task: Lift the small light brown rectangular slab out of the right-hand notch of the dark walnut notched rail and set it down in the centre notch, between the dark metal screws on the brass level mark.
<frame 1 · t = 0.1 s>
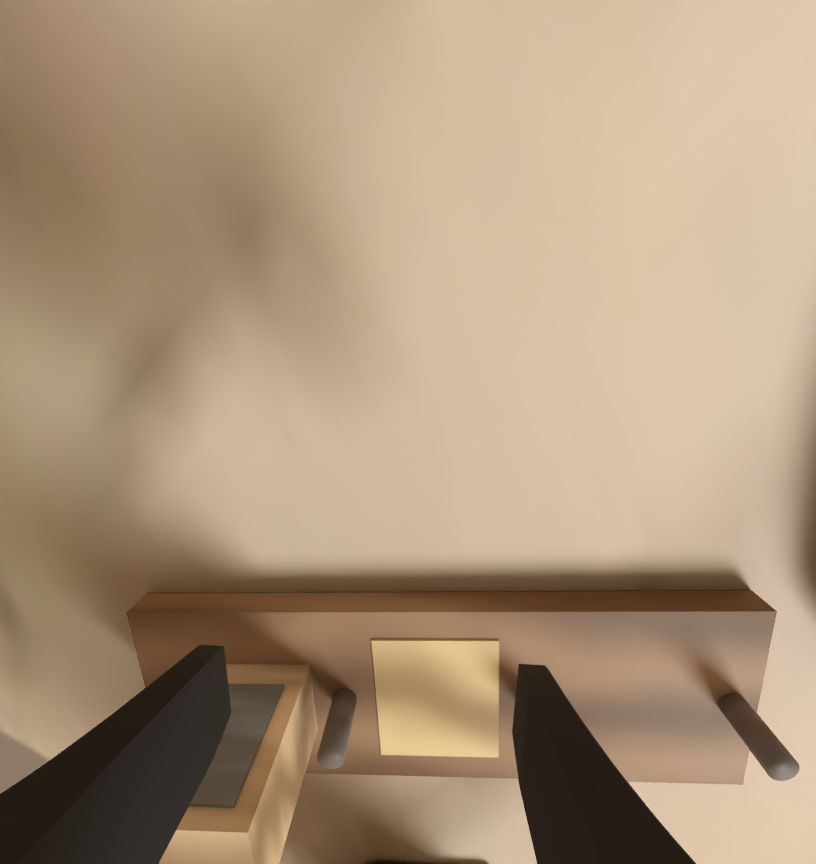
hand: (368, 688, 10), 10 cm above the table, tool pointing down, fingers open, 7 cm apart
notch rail: (436, 674, 22), on the table
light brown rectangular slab: (256, 696, 21), point 1 cm above the table, touching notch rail
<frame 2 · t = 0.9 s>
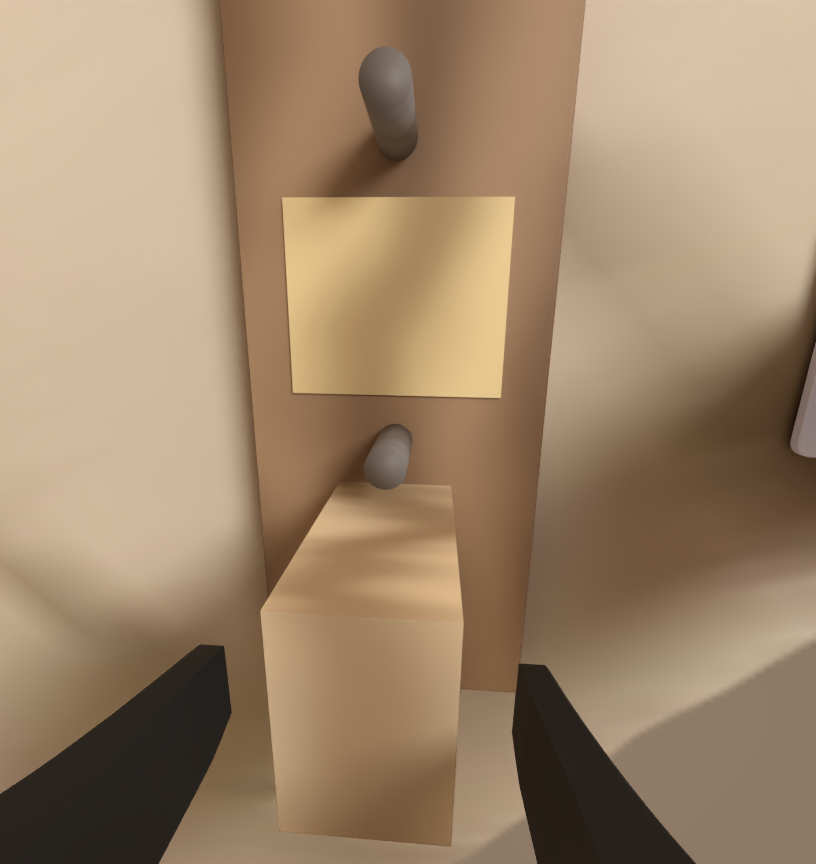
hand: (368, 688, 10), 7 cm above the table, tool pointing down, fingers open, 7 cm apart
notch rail: (400, 304, 15), on the table
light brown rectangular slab: (394, 558, 16), point 1 cm above the table, touching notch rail
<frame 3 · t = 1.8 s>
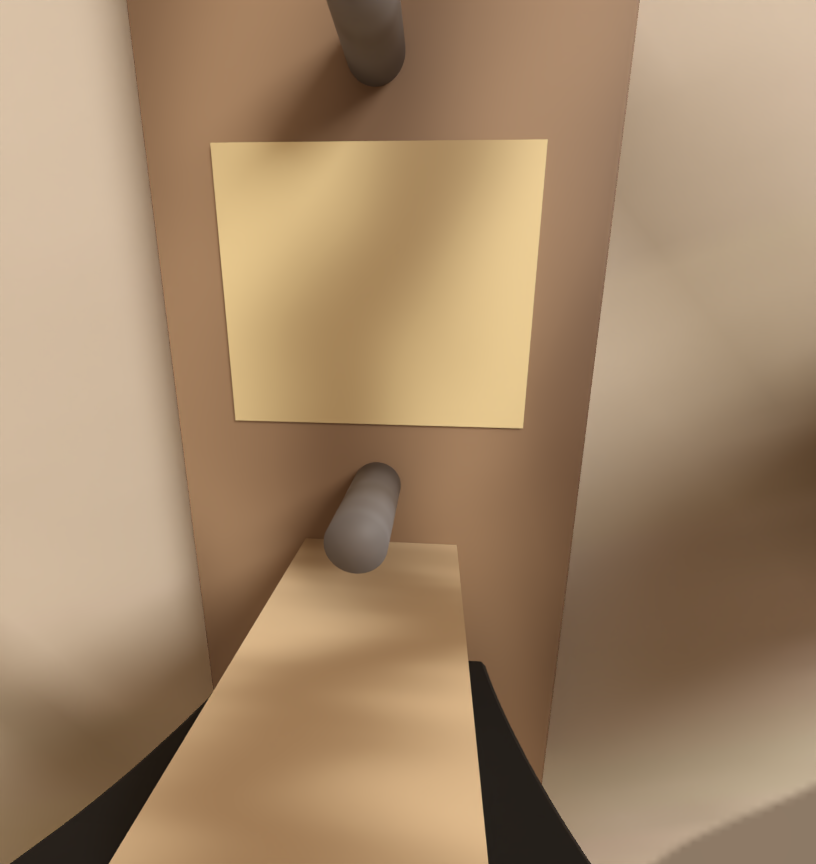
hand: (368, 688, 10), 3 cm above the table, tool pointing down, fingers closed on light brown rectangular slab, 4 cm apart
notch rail: (384, 298, 11), on the table
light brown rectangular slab: (380, 637, 12), point 2 cm above the table, touching gripper, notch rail
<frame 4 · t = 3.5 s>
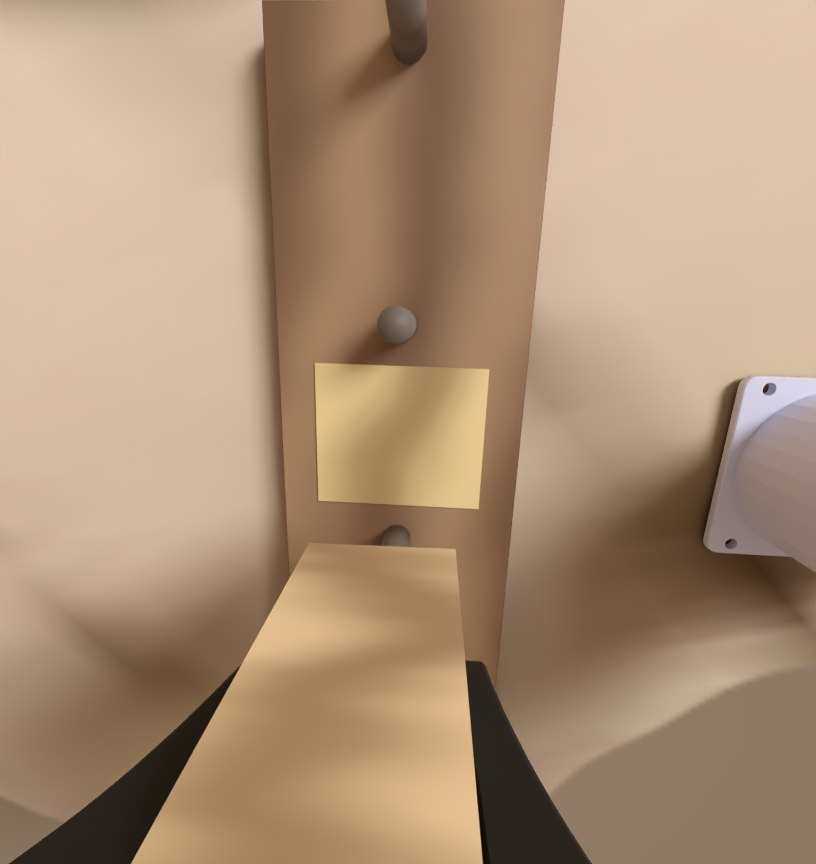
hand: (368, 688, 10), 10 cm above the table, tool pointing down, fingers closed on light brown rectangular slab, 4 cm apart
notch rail: (402, 429, 19), on the table
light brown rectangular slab: (382, 637, 12), point 8 cm above the table, touching gripper
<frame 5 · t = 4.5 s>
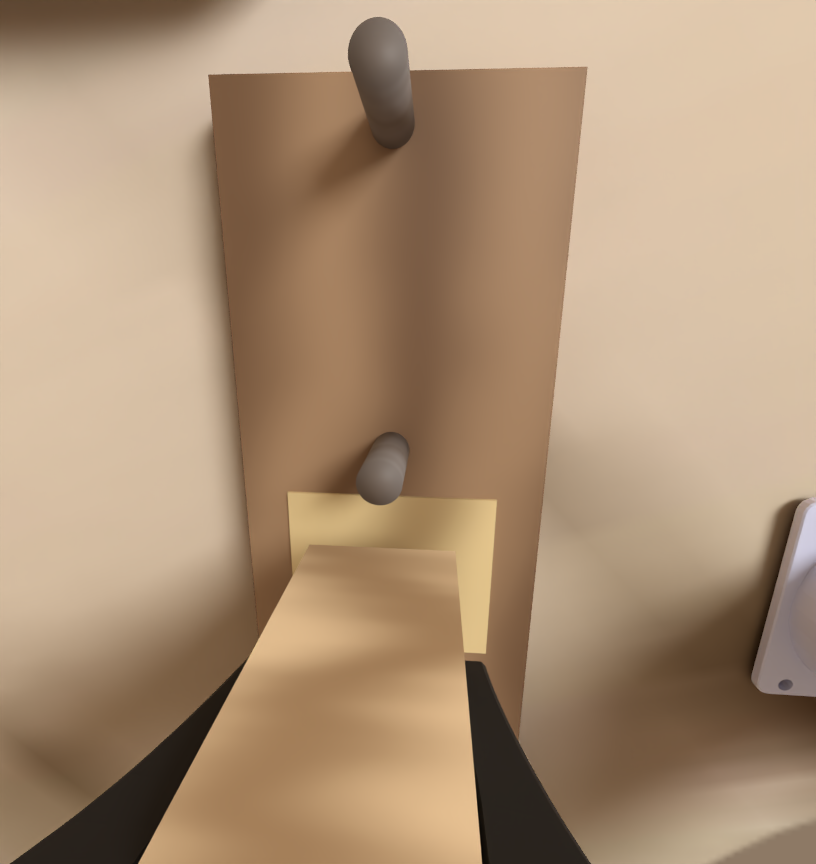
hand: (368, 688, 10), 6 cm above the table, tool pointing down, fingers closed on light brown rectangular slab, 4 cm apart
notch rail: (394, 552, 16), on the table
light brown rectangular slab: (382, 638, 12), point 4 cm above the table, touching gripper
when the fingers open (4 cm above the table, at t = 5.3 s): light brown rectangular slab stays where it is, resting on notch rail.
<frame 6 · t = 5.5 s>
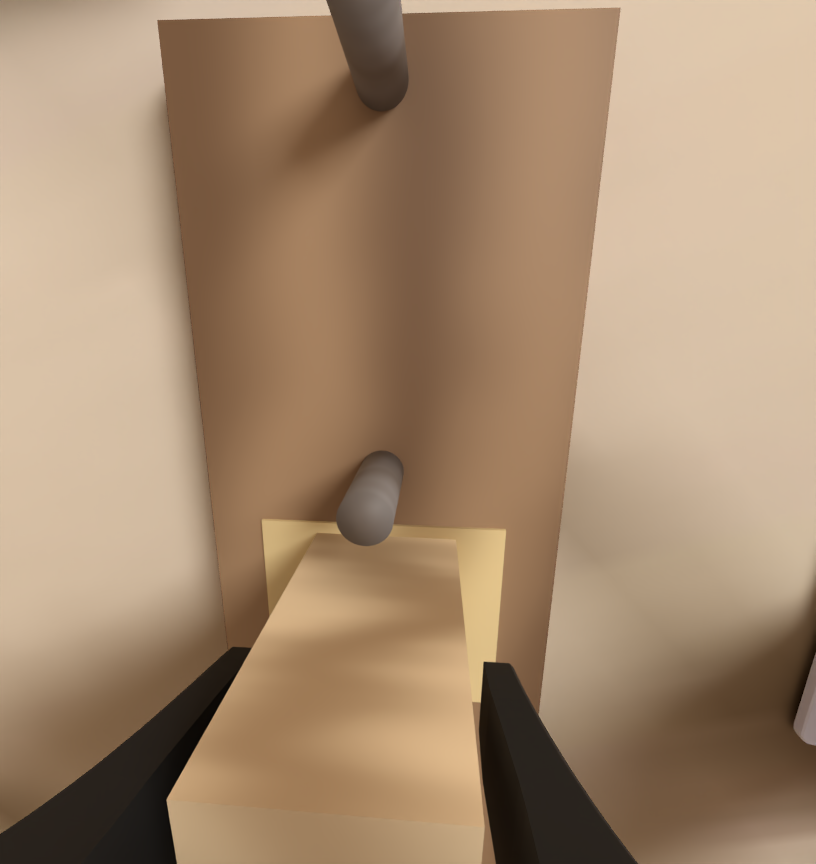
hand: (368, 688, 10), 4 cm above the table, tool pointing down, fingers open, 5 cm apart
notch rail: (387, 583, 14), on the table
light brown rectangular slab: (385, 625, 13), point 2 cm above the table, touching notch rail
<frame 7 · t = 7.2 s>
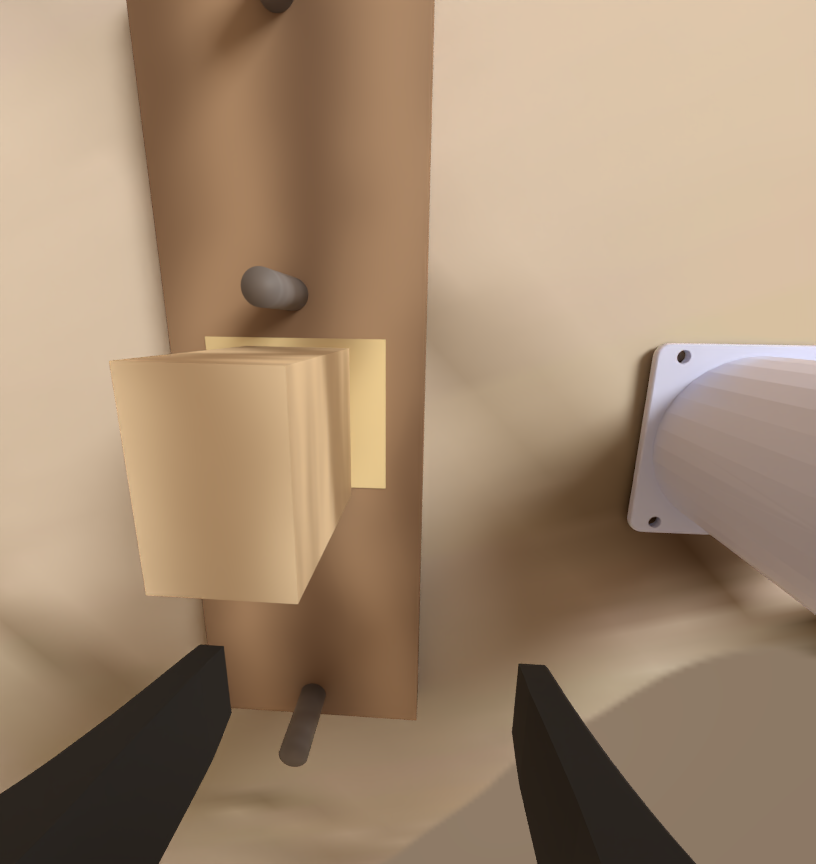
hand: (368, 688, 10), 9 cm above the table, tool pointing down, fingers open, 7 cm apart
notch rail: (309, 407, 18), on the table
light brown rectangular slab: (300, 423, 17), point 2 cm above the table, touching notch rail
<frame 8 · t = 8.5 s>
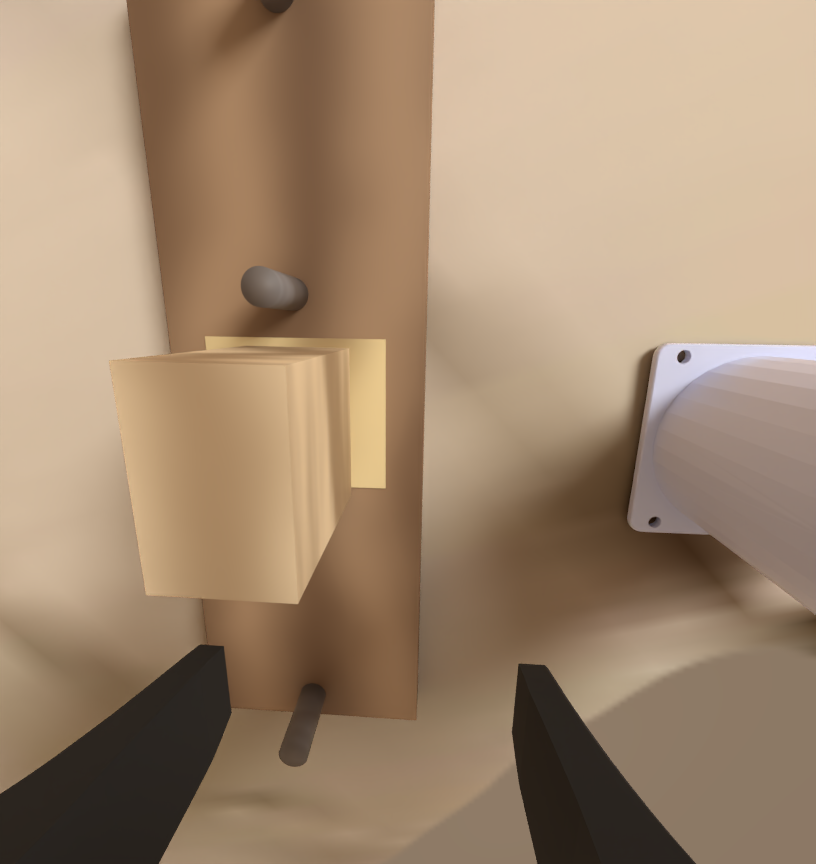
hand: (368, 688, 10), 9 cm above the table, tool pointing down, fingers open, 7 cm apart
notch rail: (309, 407, 18), on the table
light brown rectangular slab: (300, 423, 17), point 2 cm above the table, touching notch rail
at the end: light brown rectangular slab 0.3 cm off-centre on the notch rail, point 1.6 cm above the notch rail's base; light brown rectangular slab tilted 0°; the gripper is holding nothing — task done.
